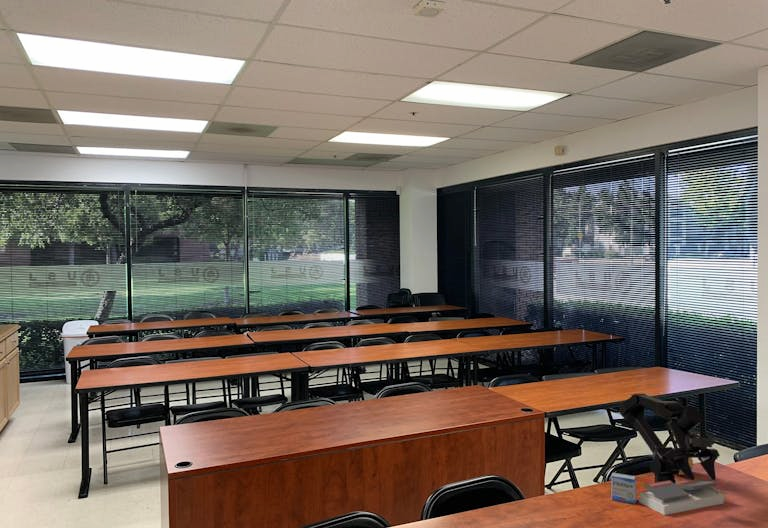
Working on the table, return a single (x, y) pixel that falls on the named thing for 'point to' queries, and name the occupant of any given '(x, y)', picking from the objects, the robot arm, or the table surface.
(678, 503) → the light switch base
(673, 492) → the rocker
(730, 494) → the table surface
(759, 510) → the table surface
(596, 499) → the table surface
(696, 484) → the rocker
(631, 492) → the medicine box
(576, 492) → the table surface
